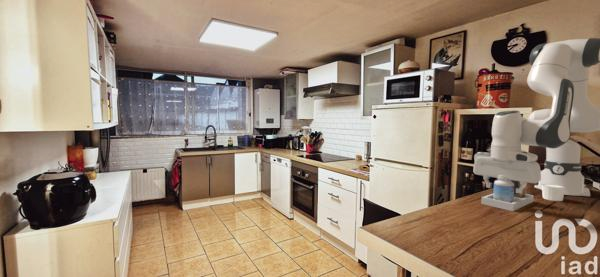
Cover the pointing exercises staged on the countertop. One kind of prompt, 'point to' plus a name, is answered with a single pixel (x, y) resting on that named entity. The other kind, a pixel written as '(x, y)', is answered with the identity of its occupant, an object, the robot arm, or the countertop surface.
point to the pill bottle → (503, 189)
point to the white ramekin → (553, 192)
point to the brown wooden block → (517, 185)
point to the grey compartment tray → (506, 205)
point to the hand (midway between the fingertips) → (503, 190)
